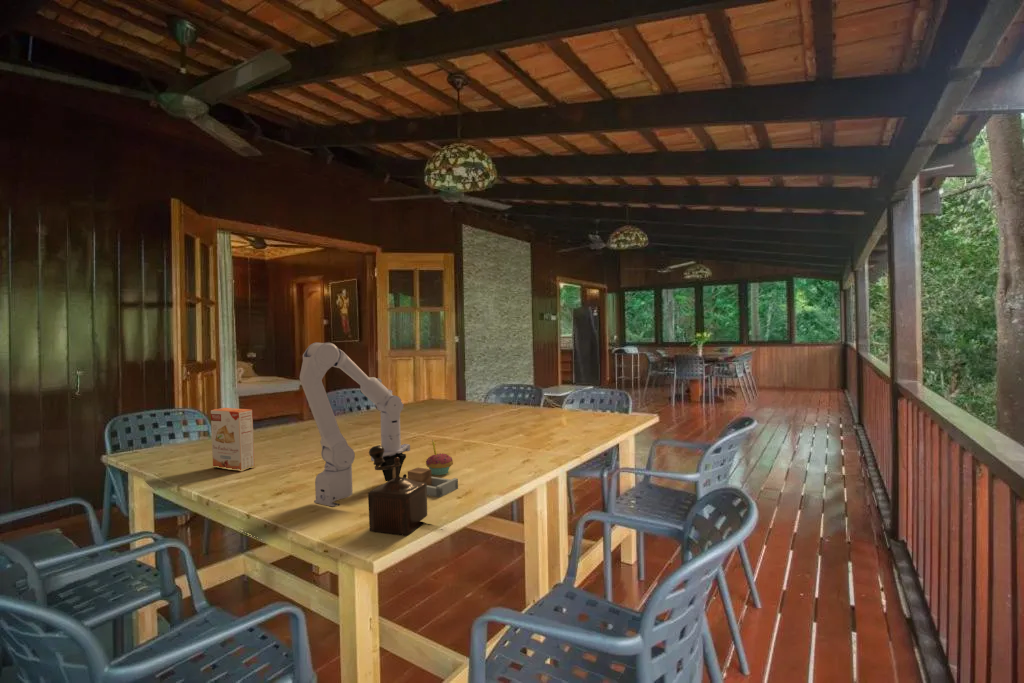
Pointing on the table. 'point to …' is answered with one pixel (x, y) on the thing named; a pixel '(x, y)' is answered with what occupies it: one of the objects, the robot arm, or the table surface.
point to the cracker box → (232, 438)
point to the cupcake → (439, 462)
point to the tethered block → (418, 475)
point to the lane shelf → (442, 486)
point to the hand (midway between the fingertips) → (392, 479)
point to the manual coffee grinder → (396, 501)
